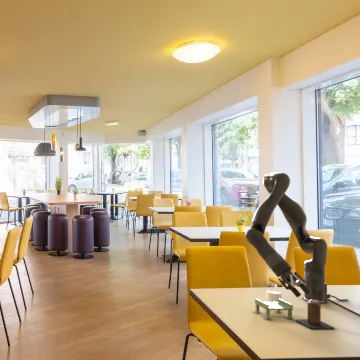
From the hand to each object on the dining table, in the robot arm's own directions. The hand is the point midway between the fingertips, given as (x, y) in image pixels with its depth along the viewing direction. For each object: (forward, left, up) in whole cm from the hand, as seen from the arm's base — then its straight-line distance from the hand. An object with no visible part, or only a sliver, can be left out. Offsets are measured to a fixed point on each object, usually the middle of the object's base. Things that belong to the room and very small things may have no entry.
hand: (304, 294), depth 172 cm
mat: (-2, +4, -12) cm, 13 cm away
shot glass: (0, -22, -12) cm, 26 cm away
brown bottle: (-2, +4, -11) cm, 12 cm away
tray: (+9, -8, -12) cm, 17 cm away
